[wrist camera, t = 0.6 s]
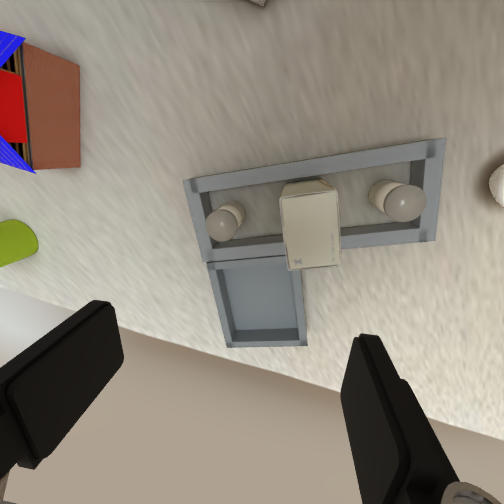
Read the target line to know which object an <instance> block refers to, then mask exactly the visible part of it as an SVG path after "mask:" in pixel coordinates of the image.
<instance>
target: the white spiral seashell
mask: <svg viewBox="0 0 504 504" xmlns="http://www.w3.org/2000/svg"><path fill="white" fill-rule="evenodd" d="M489 188H490V191H491V193H492V195H493V197H494V199H495V200H496V202H497V203H499V204H500V205H501V206H502V207H503V208H504V164H503V165H501V166H499V167H498V168H497V169H496V170H495V171H494V172H493V174H491V177H490V179H489Z"/></svg>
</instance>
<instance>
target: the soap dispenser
mask: <svg viewBox="0 0 504 504" xmlns="http://www.w3.org/2000/svg"><path fill="white" fill-rule="evenodd" d="M37 249H38V241H37V238H36V236H35V234H34V232H33V231H32V230H31V229H30V228H29V227H28V226H27V225H26V224H24V223H23V222H21V221H18V220H8V221H4V222H0V267H3V266H5V265H8V264H10V263H13V262H15V261H18V260H21V259H23V258H26V257H28V256H31V255H33V254H35V253H36V251H37Z"/></svg>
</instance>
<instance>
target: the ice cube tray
mask: <svg viewBox="0 0 504 504" xmlns="http://www.w3.org/2000/svg"><path fill="white" fill-rule="evenodd" d="M249 1H251V2H254V3H256V4H258V5H260V6H264V3H265V0H249Z"/></svg>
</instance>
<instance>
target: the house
mask: <svg viewBox="0 0 504 504" xmlns="http://www.w3.org/2000/svg"><path fill="white" fill-rule="evenodd" d="M25 39H26V38H23V37H20V36H16V35H13V34H10V33H6V32H3V31H0V163H4V164H7V165H10V166H13V167H16V168H19V169H23V170H26V171H29V172H32V173H35V172H34V171H33V170H40V169H56V168H73V167H80V66H79V65H77V64H74V63H72V62H69V61H67V60H65V59H62V58H60V57H58V56H55V55H53V54H50V53H48V52H46V51H43V50H41V49H39V48H36V47H34V46H31V45H29V44H27V43H24V42H23V41H24V40H25ZM17 53H18V60H17ZM12 54H13V55H14V65H15V72H11V68H10V59H9V57H10V56H11V55H12ZM5 62H6V64H7V70H5V69H3V64H4V63H5ZM18 64H19V71H18ZM19 75H20V76H19ZM12 142H14V143H12ZM18 143H22V146H21V145H18ZM25 143H26V146H25ZM35 174H36V173H35Z"/></svg>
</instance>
